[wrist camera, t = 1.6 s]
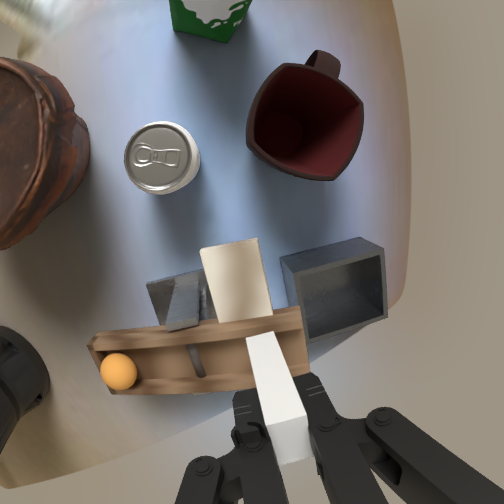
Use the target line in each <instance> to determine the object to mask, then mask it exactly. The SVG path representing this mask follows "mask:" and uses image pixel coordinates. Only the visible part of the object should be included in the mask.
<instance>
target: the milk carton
mask: <svg viewBox="0 0 504 504" xmlns="http://www.w3.org/2000/svg"><path fill="white" fill-rule="evenodd" d="M251 2H252V0H169V4H170V11H171V18H172V25H173V30H176V31H181V32H185V33H189V34H193V35H197V36H201V37H205V38H209V39H212V40H216V41H219V42H223V43H226V44H227V43H228V41H229V39H230V38H231V36H232V35H233V33H234V32H235V30H236V29H237V27H238V25H239V24H240V22H241V21H242V19H243V18H244V16H245V14H246V12H247V10H248V8H249V6H250V4H251Z"/></svg>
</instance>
